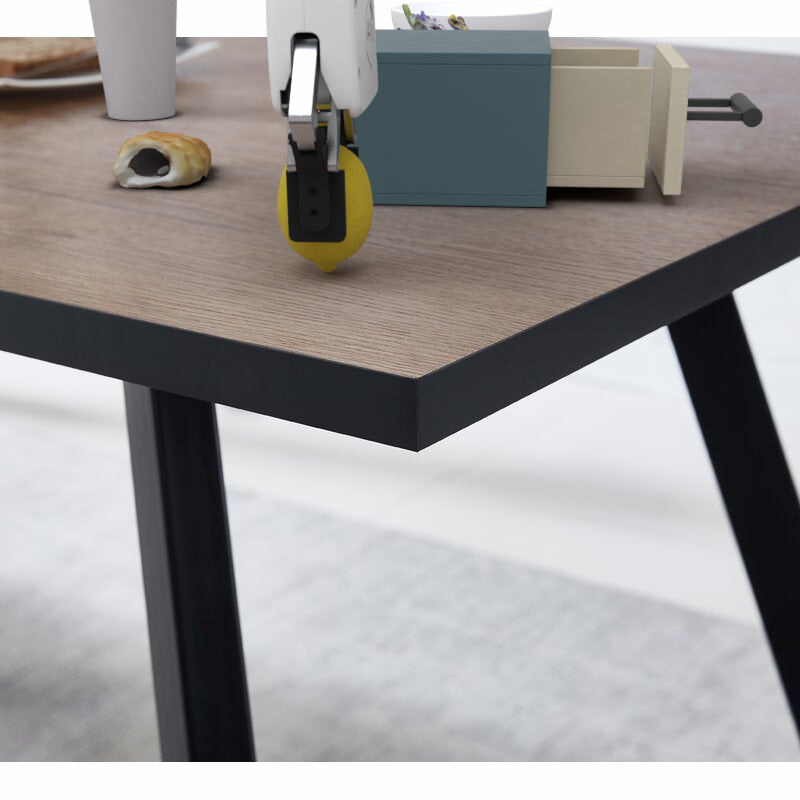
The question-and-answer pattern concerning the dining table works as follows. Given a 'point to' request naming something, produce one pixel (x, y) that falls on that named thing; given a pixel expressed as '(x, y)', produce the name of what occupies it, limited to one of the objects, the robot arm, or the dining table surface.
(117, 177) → the pastry
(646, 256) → the dining table surface
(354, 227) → the lemon
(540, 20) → the bowl
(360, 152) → the cabinet
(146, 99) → the coffee cup
